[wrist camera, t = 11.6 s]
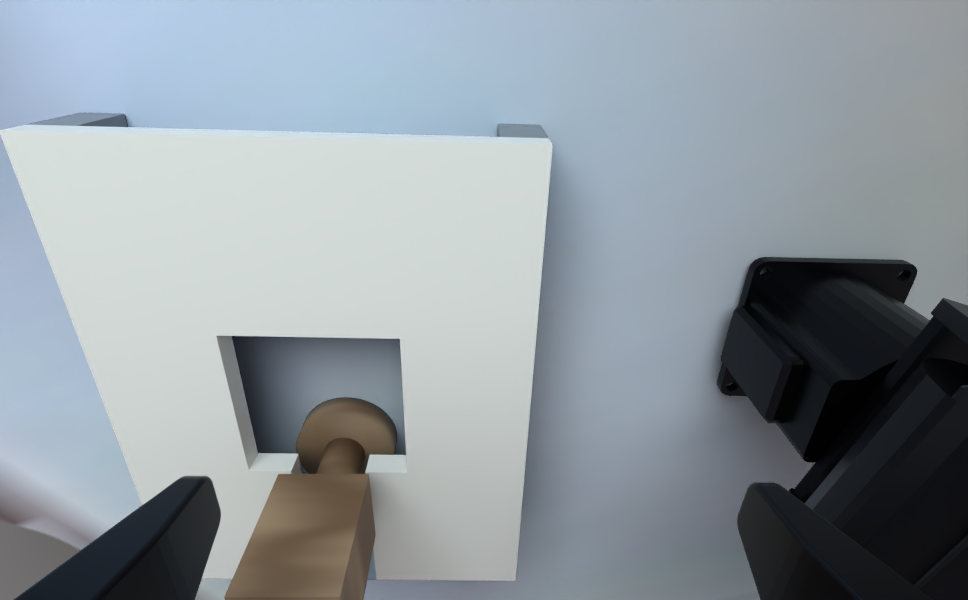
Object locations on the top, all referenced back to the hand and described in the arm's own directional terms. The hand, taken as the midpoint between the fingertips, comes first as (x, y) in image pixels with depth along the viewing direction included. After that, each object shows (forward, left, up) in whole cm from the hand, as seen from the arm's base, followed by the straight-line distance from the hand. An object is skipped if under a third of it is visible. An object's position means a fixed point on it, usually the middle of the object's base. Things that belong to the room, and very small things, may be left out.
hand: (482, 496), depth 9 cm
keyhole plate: (+6, +6, -13) cm, 16 cm away
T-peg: (+6, +10, -13) cm, 18 cm away
